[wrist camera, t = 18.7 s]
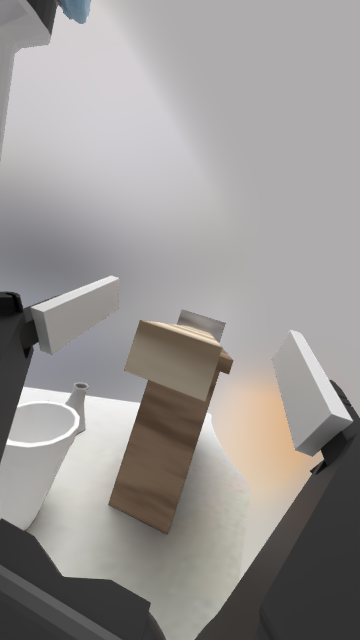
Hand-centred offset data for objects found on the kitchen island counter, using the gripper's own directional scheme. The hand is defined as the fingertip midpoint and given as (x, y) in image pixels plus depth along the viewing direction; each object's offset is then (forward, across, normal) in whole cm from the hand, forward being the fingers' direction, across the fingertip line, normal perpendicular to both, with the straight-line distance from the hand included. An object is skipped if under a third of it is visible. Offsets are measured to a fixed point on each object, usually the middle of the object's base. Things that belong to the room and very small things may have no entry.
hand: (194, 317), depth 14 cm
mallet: (+8, 0, -8) cm, 11 cm away
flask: (+6, -22, -40) cm, 46 cm away
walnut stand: (+7, 0, -40) cm, 41 cm away
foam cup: (-9, -16, -32) cm, 36 cm away
